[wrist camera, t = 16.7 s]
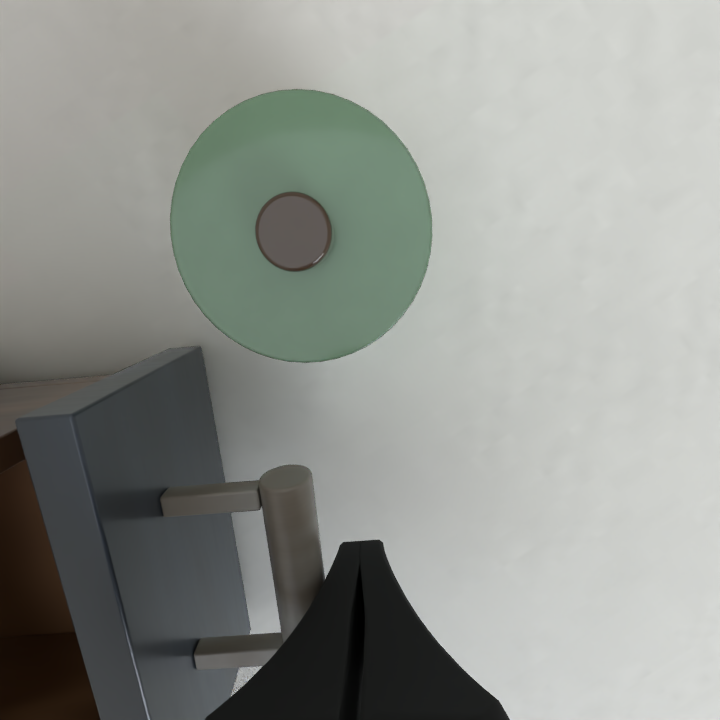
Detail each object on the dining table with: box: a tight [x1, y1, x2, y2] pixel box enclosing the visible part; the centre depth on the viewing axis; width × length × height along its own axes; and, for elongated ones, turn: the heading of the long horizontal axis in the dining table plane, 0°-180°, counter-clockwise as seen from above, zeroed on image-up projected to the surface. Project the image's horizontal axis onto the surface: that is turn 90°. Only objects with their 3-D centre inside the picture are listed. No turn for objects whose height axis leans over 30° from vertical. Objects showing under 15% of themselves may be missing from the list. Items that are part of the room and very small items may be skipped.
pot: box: [170, 89, 432, 363], centre depth 11 cm, size 5×5×8 cm
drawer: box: [0, 346, 325, 720], centre depth 13 cm, size 16×12×7 cm
